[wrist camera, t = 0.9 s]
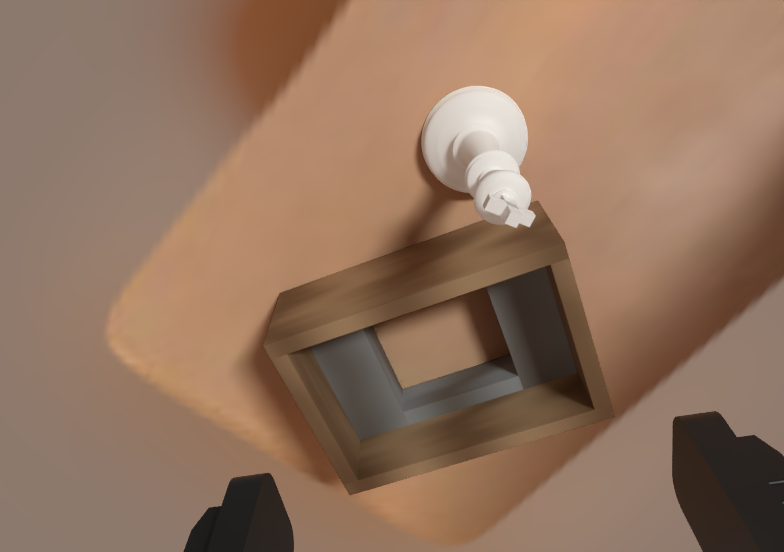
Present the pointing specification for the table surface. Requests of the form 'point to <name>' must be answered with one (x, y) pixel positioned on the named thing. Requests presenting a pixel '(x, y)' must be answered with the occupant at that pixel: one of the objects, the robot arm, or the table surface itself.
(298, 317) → the walnut box
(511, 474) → the table surface
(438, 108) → the chess piece
